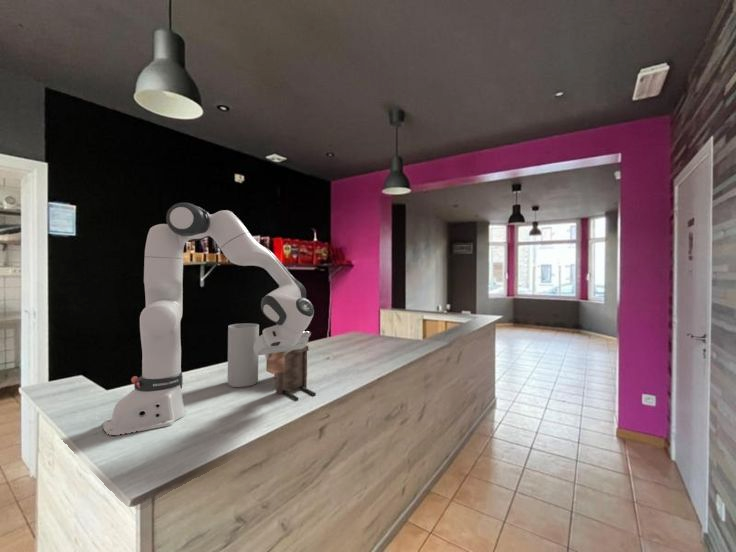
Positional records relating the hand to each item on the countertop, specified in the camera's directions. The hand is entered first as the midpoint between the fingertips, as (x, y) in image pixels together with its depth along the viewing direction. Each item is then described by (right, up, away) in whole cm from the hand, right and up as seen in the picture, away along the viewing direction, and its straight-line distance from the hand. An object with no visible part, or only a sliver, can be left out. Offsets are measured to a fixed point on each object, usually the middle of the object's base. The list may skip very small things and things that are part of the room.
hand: (274, 355), depth 131 cm
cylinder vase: (-19, -16, +18) cm, 31 cm away
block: (0, -6, 0) cm, 6 cm away
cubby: (+8, -17, +7) cm, 20 cm away
